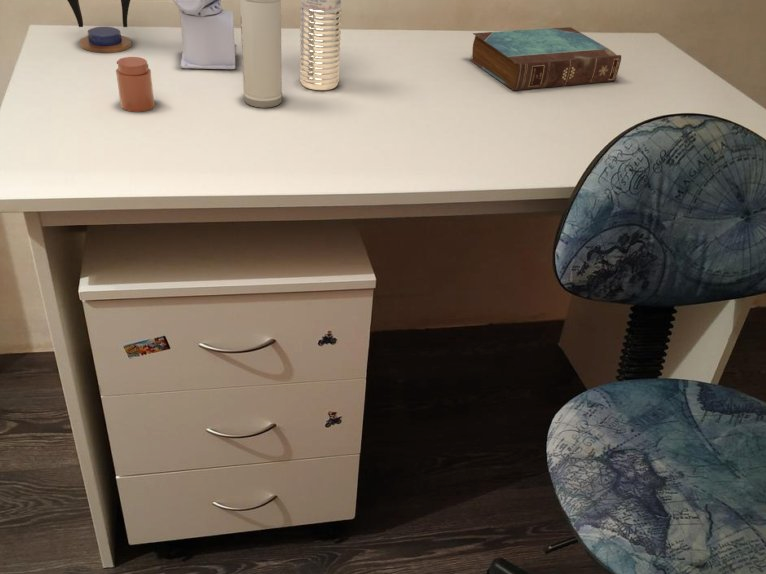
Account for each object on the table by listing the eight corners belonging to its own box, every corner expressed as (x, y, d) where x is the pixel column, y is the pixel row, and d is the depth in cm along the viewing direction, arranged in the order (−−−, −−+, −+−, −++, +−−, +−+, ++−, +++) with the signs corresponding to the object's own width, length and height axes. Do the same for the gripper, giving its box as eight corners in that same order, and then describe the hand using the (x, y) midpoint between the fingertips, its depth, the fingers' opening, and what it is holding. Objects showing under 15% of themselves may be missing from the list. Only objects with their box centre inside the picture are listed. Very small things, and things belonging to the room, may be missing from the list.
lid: (92, 35, 150) (90, 25, 149) (124, 36, 151) (122, 27, 150) (86, 45, 146) (84, 35, 145) (118, 47, 146) (117, 37, 145)
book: (514, 91, 146) (519, 63, 143) (468, 59, 158) (471, 32, 155) (615, 82, 154) (622, 55, 151) (564, 52, 166) (569, 26, 163)
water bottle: (291, 82, 141) (291, -79, 125) (320, 74, 145) (323, -83, 129) (318, 94, 138) (321, -70, 122) (346, 86, 142) (353, -74, 126)
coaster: (133, 37, 153) (133, 34, 152) (129, 53, 146) (128, 50, 146) (83, 36, 151) (83, 32, 151) (77, 52, 144) (76, 48, 144)
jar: (154, 99, 131) (149, 55, 126) (154, 111, 127) (149, 67, 122) (121, 99, 130) (115, 55, 125) (120, 112, 126) (113, 67, 121)
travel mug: (288, 97, 136) (288, -33, 123) (272, 111, 131) (269, -23, 118) (255, 90, 137) (251, -39, 124) (237, 103, 132) (231, -30, 119)
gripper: (44, -54, 133) (60, 32, 142) (135, -52, 136) (145, 32, 145) (46, -64, 138) (61, 20, 147) (134, -61, 142) (144, 20, 150)
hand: (103, 25), depth 146 cm, fingers open, 7 cm apart
